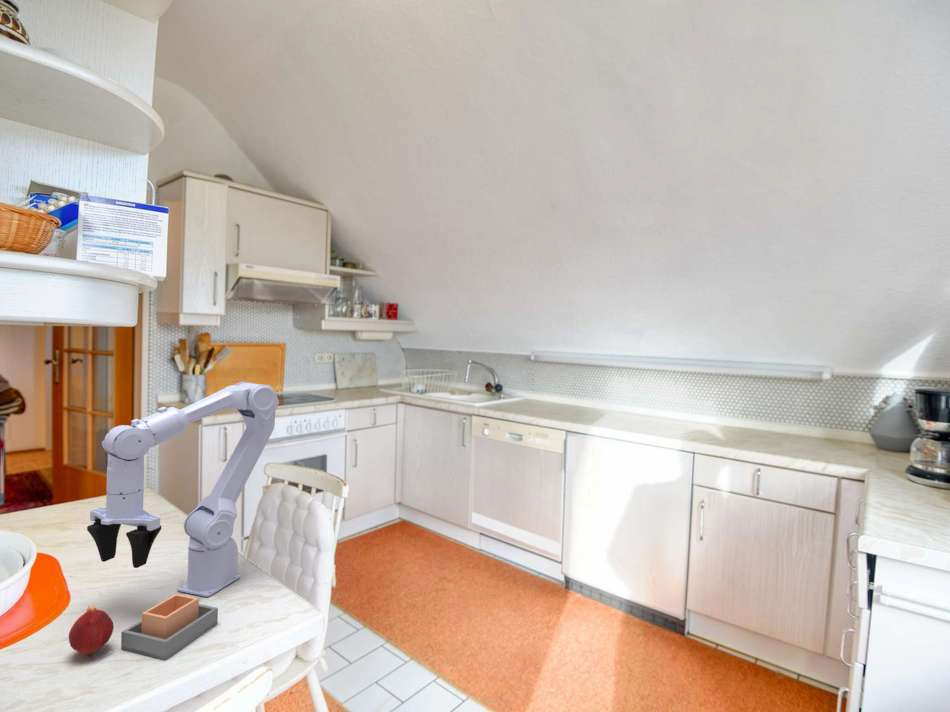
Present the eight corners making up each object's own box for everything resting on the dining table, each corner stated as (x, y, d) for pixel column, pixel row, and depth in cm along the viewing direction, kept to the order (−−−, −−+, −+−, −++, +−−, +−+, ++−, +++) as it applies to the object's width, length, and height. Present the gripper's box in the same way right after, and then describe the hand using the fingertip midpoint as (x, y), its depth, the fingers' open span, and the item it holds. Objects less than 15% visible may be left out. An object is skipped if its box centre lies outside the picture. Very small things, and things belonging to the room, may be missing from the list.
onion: (120, 643, 85) (122, 597, 85) (96, 665, 80) (97, 615, 79) (85, 643, 85) (86, 596, 85) (58, 664, 79) (59, 615, 79)
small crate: (175, 620, 92) (176, 593, 92) (198, 625, 90) (198, 598, 90) (141, 642, 85) (141, 613, 85) (165, 648, 84) (165, 618, 84)
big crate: (177, 615, 95) (177, 599, 95) (217, 624, 92) (217, 607, 92) (121, 649, 84) (121, 631, 84) (165, 660, 81) (165, 642, 81)
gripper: (73, 491, 92) (72, 565, 92) (136, 501, 88) (134, 578, 88) (111, 482, 98) (109, 550, 99) (170, 490, 95) (168, 561, 95)
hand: (123, 562), depth 94 cm, fingers open, 7 cm apart
